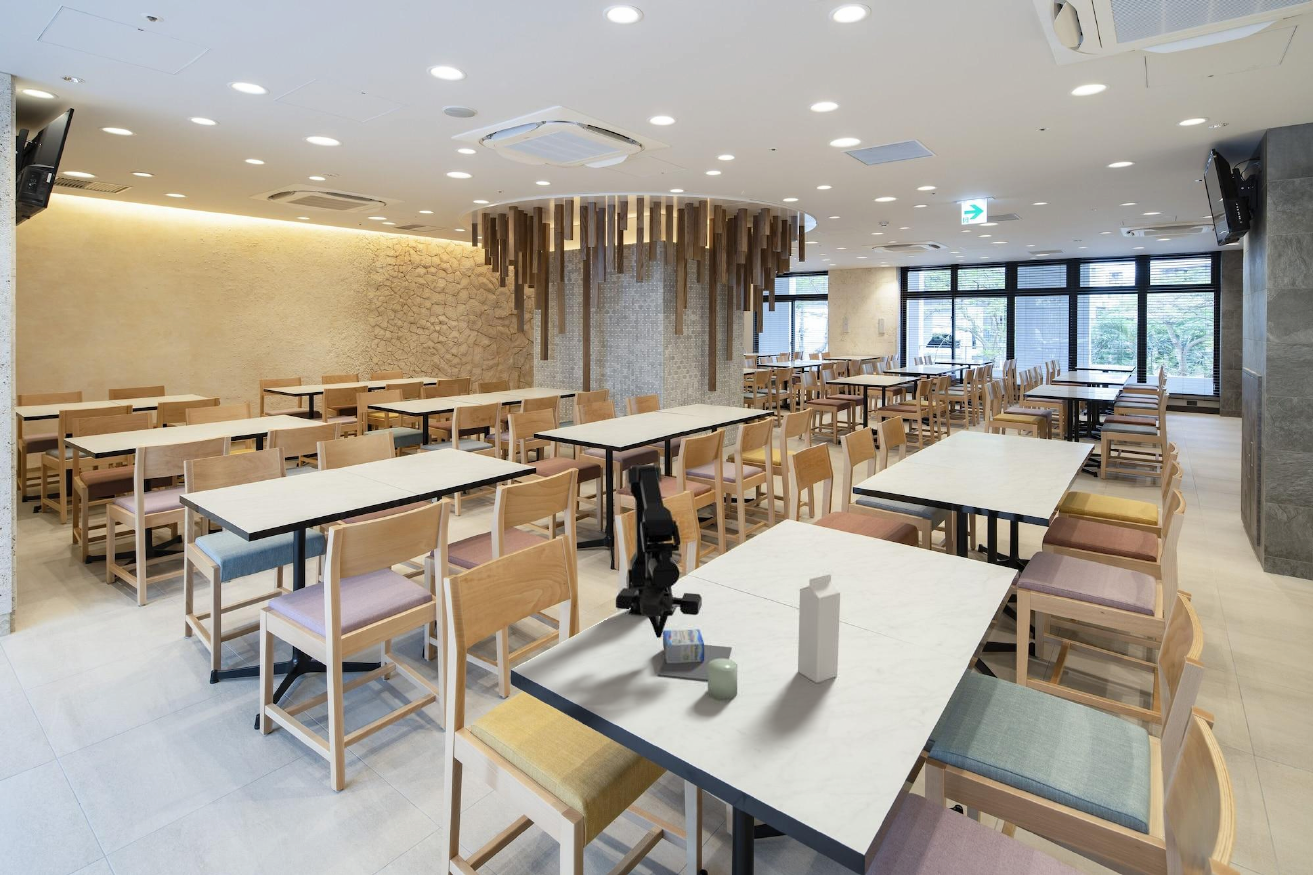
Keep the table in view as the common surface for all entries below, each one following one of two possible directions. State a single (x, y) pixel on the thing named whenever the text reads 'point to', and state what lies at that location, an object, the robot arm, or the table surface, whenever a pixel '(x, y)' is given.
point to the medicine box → (683, 646)
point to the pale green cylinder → (722, 679)
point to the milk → (819, 629)
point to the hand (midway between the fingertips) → (659, 637)
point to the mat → (695, 664)
